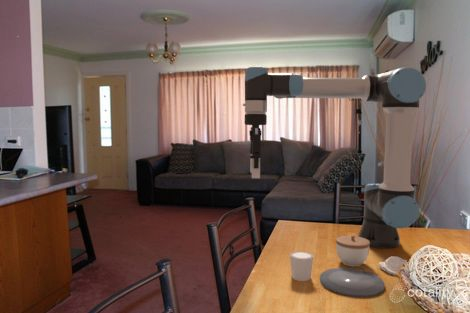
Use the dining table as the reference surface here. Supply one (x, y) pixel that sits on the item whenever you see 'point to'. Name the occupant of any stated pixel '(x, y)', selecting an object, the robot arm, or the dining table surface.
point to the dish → (352, 282)
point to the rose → (392, 265)
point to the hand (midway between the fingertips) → (254, 175)
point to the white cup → (301, 265)
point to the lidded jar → (352, 249)
